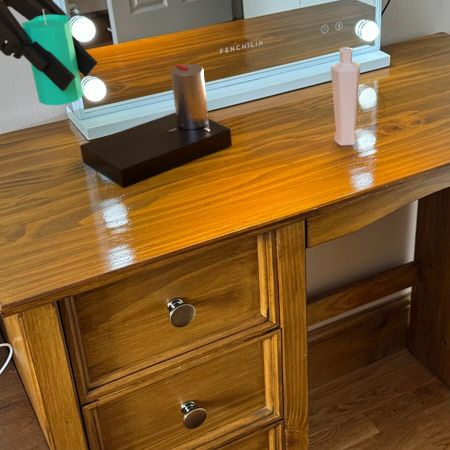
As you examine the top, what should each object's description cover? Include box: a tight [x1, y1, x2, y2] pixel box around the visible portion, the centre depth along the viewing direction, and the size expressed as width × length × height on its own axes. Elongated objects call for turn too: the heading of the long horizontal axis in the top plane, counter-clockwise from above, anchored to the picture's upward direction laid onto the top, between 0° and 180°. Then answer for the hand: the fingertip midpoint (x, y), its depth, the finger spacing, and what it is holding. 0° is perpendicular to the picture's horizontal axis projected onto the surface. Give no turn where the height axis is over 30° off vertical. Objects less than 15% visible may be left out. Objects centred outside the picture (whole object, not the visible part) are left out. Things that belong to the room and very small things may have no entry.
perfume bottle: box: [330, 46, 361, 146], centre depth 119 cm, size 5×4×15 cm
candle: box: [21, 9, 84, 106], centre depth 102 cm, size 6×6×12 cm
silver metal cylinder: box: [170, 63, 209, 129], centre depth 121 cm, size 5×5×9 cm
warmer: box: [79, 111, 233, 189], centre depth 120 cm, size 22×12×3 cm, turn 132°
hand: (80, 76), depth 102 cm, fingers closed on candle, 5 cm apart
